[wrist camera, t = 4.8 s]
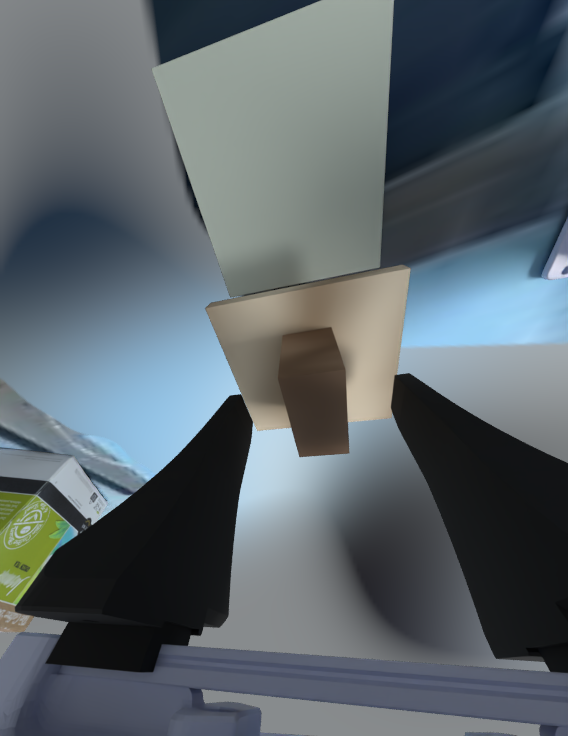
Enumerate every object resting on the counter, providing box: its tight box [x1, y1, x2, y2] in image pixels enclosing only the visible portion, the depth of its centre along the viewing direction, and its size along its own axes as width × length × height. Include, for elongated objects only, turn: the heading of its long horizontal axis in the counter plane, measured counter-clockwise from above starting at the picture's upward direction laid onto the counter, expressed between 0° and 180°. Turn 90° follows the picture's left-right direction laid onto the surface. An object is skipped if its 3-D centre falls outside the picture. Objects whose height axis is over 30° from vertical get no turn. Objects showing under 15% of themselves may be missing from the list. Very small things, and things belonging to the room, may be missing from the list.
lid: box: [205, 265, 411, 457], centre depth 11 cm, size 9×9×4 cm
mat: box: [152, 0, 394, 297], centre depth 11 cm, size 10×10×1 cm
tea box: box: [0, 448, 108, 632], centre depth 27 cm, size 15×10×15 cm
